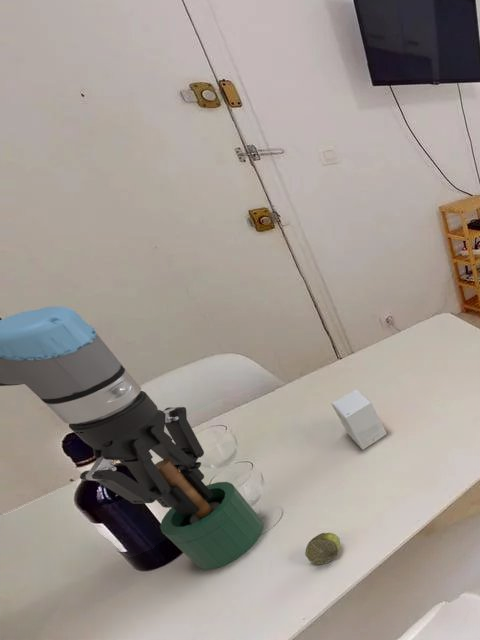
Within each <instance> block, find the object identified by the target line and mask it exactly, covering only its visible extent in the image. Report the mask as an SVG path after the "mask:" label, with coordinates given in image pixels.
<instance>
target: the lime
mask: <svg viewBox="0 0 480 640" xmlns="http://www.w3.org/2000/svg"><path fill="white" fill-rule="evenodd" d="M340 549H341V539H340V537H339V536H338V535H337V534H336V533H334V532H333V533H332V532H321V533H320V534H317V535H316V536H314V537H313V538H312V539H311V540H309V542H308V543H307V545H306V548H305V551H304V554H305V557H306V558H307V559H308V561H309V562H311V563H312V564H316V565H323V564H326V563H330V561H332V560H333V559H334V558H336V557H337V556H338V554H339V552H340Z"/></svg>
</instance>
